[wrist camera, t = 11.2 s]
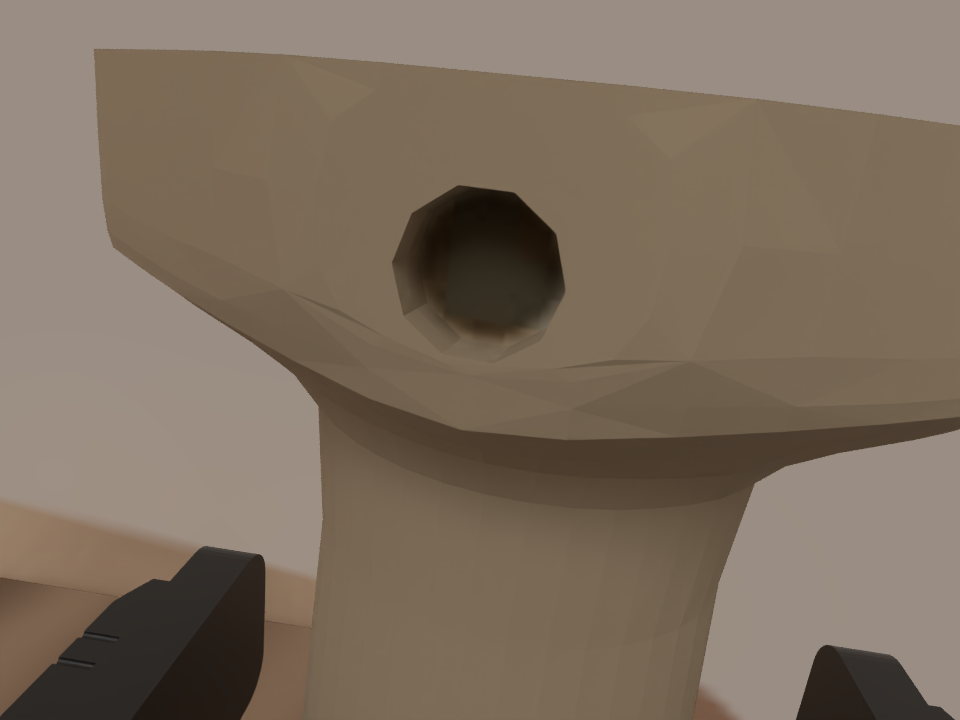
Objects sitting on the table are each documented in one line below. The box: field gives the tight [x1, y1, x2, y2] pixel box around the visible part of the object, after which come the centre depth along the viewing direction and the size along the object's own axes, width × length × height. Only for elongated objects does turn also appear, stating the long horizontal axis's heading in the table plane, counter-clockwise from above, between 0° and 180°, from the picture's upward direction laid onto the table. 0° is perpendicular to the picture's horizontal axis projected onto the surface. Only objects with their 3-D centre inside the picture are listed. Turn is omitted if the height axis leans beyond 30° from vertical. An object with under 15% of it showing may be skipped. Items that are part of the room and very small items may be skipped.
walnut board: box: [0, 578, 312, 720], centre depth 16 cm, size 22×6×2 cm, turn 84°
